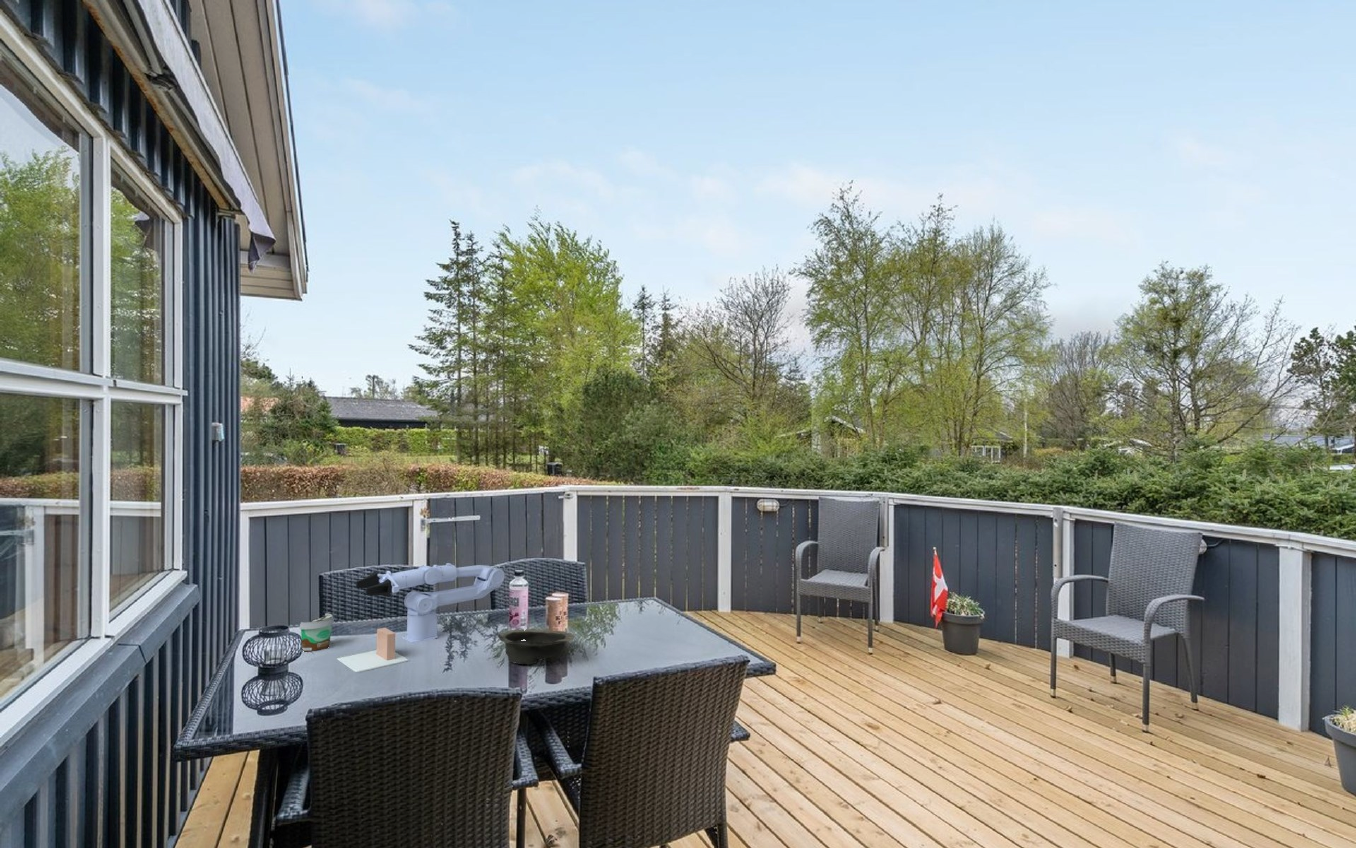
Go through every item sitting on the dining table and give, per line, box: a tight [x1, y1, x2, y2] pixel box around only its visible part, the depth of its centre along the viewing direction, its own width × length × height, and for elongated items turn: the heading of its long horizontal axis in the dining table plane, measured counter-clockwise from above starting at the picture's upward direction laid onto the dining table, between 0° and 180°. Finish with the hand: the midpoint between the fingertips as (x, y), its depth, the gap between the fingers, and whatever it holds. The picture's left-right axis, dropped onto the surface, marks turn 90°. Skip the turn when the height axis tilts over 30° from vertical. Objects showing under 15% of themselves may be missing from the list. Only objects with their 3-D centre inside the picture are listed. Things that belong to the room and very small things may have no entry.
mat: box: [334, 648, 411, 674], centre depth 215 cm, size 16×18×1 cm
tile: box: [376, 627, 396, 660], centre depth 218 cm, size 3×8×8 cm, turn 45°
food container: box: [299, 612, 335, 653], centre depth 225 cm, size 12×6×10 cm, turn 168°
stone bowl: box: [496, 628, 576, 665], centre depth 222 cm, size 25×25×9 cm
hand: (361, 588), depth 223 cm, fingers open, 7 cm apart
